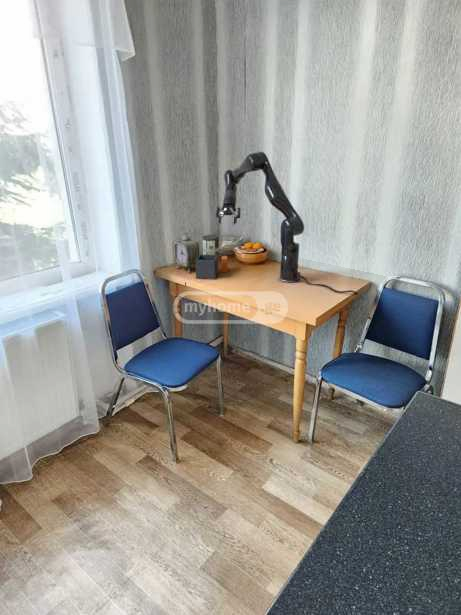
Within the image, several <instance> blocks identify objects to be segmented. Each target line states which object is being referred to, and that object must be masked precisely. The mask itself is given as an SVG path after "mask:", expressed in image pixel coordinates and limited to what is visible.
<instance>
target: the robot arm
mask: <svg viewBox="0 0 461 615" xmlns="http://www.w3.org/2000/svg"><path fill="white" fill-rule="evenodd" d="M258 171H262V173H263V175H264V178H265V180H264V182H265V183H264V188H263V189H264V194H265V197H266V198H267V200H268V202H269V203H270V205H272V207H274V208H275V209H277V210H278V211H279V212H280V213H282V215H283V216H284V217H285V219H283V220H282V221H281V223H280V231H279V233H280V237H279V238H280V240H279V242H280V245H281V250H280V251H281V252H280V270H279V280H280V281H281V282H284V283H294V282H295V283H297V282H298V281H301V279H303V280H304V281H305V283H306V284H307V285H311V286H319V287H320V286H321V287H326V288H328V289H329V290H331V291H333V292H335V293H340V294H342V293H343V294H344V293H354V294H355V295H359V293H358V292H357V291H354V290H337V289H334V288H332V287H331V286H330V285H326V284H321V283H310V282H308V279H307V278H306V277H305V276H302V274H301V271H299V257H300V243H299V242H297V241H295V239H294V238H295V237H296V236H299V235H301V234H303V233H304V231H305V224H304V221H303V220H302V217H301V216H300V215H299V214H298V212H297V210H296V209H295V208H294V206H293V205H292V203H291V201H290V199H289V197H288V196H287V194H286V192H285V190H284V187H283V186H282V185H281V183H280V181H279V179H278V178H277V175H276V174H275V171H274V169H273V167H272V165H271V162H270V160H269V158H268V155H267V154H266V153H265V152H264V151H256V152H252V153H249V154H247V156H245V158H244V159H243V160H242V161H241V163H240V164H239V165H237V166H236V167H234V168H233V169H227V170H226V171H225V172H224V174H223V181H224V187H225V189H224V195H223V202H222V207H220V206H217V207H216V211H215V217H216V218H217V219H218V220H217V221H218V223H219V225H221V224H222V218H223V217H225V216H232V217H233V225H236V224H237V222H238V219H241V210H242V209H241V207H240V206H239V207H237V206H236V205H237V201H238V200H237V197H238V196H237V194H238V193H237V192H238V185H239V184H240V183H241V181H242V179H243V178H245V177H247V175H248V173H250V172H251V173H252V172H258ZM236 212H237V214H236Z"/></svg>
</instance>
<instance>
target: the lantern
mask: <svg viewBox="0 0 461 615" xmlns="http://www.w3.org/2000/svg"><path fill="white" fill-rule="evenodd" d="M201 238H202V255H218V261H219V260H220V236H218V235H215V234H206V235H203V236H202V237H201Z"/></svg>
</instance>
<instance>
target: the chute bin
mask: <svg viewBox="0 0 461 615" xmlns="http://www.w3.org/2000/svg"><path fill="white" fill-rule="evenodd" d="M218 275H219V260H218V255H203V254H199V256H198V257H197V259H196V264H195V278H196V279H198V280H199V279H200V280H216V278H217V276H218Z"/></svg>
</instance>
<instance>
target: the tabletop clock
mask: <svg viewBox="0 0 461 615" xmlns="http://www.w3.org/2000/svg"><path fill="white" fill-rule="evenodd" d="M183 229H185V230H187V232H186V231H184V232H183ZM180 231H181V234H182V236H180V239H175V240H173V241H172V256H173V257H172V258H173V261H174V263H175V264H177V266H176V269H180V268H181V267H184V268H187V267H188V270H187V273H188V274H190V273H191V269H192V266H194V265H195V266H196V259H197V257H198V256H199V255H200V244H199V242H198V241H196V240H193V239H191V237H190V236H189V234H190V231H189V229H188V227H185V226H182V227H181V228H180Z"/></svg>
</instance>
